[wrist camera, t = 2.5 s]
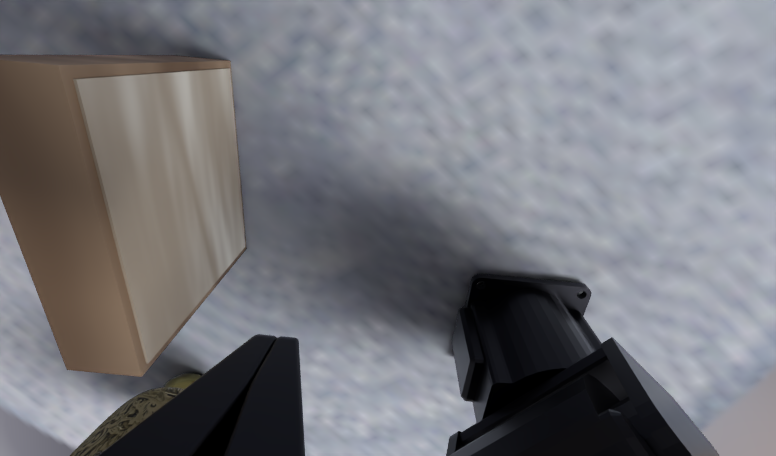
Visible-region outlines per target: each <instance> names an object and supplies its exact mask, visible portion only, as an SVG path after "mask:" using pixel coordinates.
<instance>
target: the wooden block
mask: <svg viewBox="0 0 776 456" xmlns="http://www.w3.org/2000/svg"><path fill="white" fill-rule="evenodd" d="M0 196H1V199H2V202H3V204H4V207H5V209H6V212H7V215H8V217H9V220H10V222H11V225H12V228H13V230H14V233H15V235H16V238H17V241H18V243H19V246H20V249H21V251H22V254H23V256H24V259H25V262H26V264H27V267H28V269H29V272H30V275H31V277H32V280H33V282H34V285H35V288H36V290H37V293H38V295H39V298H40V301H41V303H42V306H43V308H44V311H45V314H46V316H47V319H48V322H49V324H50V327H51V329H52V332H53V335H54V337H55V340H56V342H57V345H58V348H59V350H60V353H61V355H62V358H63V361H64V363H65V366H66V368H67V370H75V371H85V372H96V373H106V374H117V375H127V376H138V377H142V376H143V375H144V374H145V373H146V372H147V370H148V369H149V368H150V367H151V365H152V364H153V363H154V362H155V360H156V359H157V358H158V357H159V356H160V354H161V353H162V352H163V351H164V349H165V348H166V347H167V346H168V345H169V343H170V342H171V341H172V340H173V338H174V337H175V336H176V335H177V333H178V332H179V331H180V330H181V329H182V327H183V326H184V325H185V324H186V322H187V321H188V320H189V319H190V318H191V316H192V315H193V314H194V313H195V311H196V310H197V309H198V308H199V306H200V305H201V304H202V303H203V302H204V300H205V299H206V298H207V297H208V295H209V294H210V293H211V292H212V291H213V289H214V288H215V287H216V286H217V284H218V283H219V282H220V281H221V279H222V278H223V277H224V276H225V275H226V273H227V272H228V271H229V270H230V268H231V267H232V266H233V265H234V264H235V262H236V261H237V260H238V259H239V257H240V256H241V255H242V254H243V252H244V251H245V250H246V237H245V226H244V214H243V203H242V191H241V180H240V168H239V157H238V145H237V133H236V122H235V110H234V99H233V87H232V76H231V64H230V61H227V60H217V59H207V58H196V57H186V56H176V55H0Z"/></svg>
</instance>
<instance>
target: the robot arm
mask: <svg viewBox="0 0 776 456" xmlns="http://www.w3.org/2000/svg"><path fill="white" fill-rule="evenodd" d="M478 282H484V283H483V284H482V285H477V283H478ZM581 291H583V292H582V293H581V294H579V295H577V294H578V293H579V292H581ZM590 297H591V291H590V289H589V288H588V287H587V286H586V285H585V284H582V283H573V282H562V281H552V280H542V279H531V278H521V277H510V276H500V275H490V274H477V275H474V276H473V277H472V279H471V281H470V286H469V290H468V295H467V300H466V304H465V307H462V308H460V309H459V311H458V316H457V320H456V325H455V330H454V335H453V340H452V346H453V352H454V358H455V364H456V370H457V376H458V382H459V388H460V394H461V397H462V398H463V399H464V400H465V401H471V402H473V407H474V412H475V417H476V422H477V423H476V424H474V425H473V426H471V427H470V428H468V429H466V430H465V431H463V432H460V431H458V432H457V433H455V434H454V435H452V436H450V438H449V444H448V449H447V454H446V456H719V454H718V453H717V451H716V450H715V449H714V447H713V446H712V444H711V443H710V442H709V441H708V440H707V438H706V437H705V436H704V435H703V434H702V432H701V431H700V430H699V429H698V427H697V426H696V425H695V424H694V423H693V421H692V420H691V419H690V418H689V417H688V415H687V414H686V413H685V412H684V411H683V409H682V408H681V407H680V406H679V404H678V403H677V402H676V401H675V400H674V399H673V397H672V396H671V395H670V394H669V393H668V392H667V391H666V390H665V389H664V388H663V387H662V386H661V385H660V384H659V383H658V382H657V381H656V380H655V379H654V378H653V377H652V376H651V375H650V374H649V373H648V372H647V371H646V370H645V369H644V368H643V367H642V366H641V365H640V364H639V363H638V362H637V361H636V360H635V359H634V358H633V357H632V356H631V355H630V354H629V353H628V352H627V351H626V350H625V349H624V348H623V347H622V346H621V345H620V344H619V343H618V342H617V341H616V340H615V339H614V338H610V339H608V340H607V341H605V342H604V343H601V342H600V340H599V339H598V337H597V336H596V335H595V333H594V332H593V330H592V329H591V327H590V326H589V324H588V323H587V321H586V320H585V319H584V317H583V315H584V312H585V310H586V307H587V305H588V302H589V300H590ZM98 456H305V445H304V427H303V410H302V392H301V375H300V357H299V341H298V339H297V338H292V337H278V338H277V337H275V336H271V335H260V334H259V335H255V336H253V337H252V338H251V339H249V340H248V341H247V342H246V343H244V344H243V345H242V346H240V347H239V348H238V349H236V350H235V351H234V352H232V353H231V354H230V355H229V356H227V357H226V358H225V359H223V360H222V361H221V362H219V363H218V364H217V365H215V366H214V367H213V368H211V369H210V370H209V371H208V372H206V373H205V374H204V375H202V376H201V377H200V378H198V379H197V380H196V381H194V382H193V383H192V384H191V385H189V386H188V387H187V388H185V389H184V390H183V391H181V392H180V393H179V394H177V395H176V396H175V397H174V398H172V399H171V400H170V401H168V402H167V403H166V404H164V405H163V406H162V407H160V408H159V409H158V410H157V411H155V412H154V413H153V414H151V415H150V416H149V417H147V418H146V419H145V420H143V421H142V422H141V423H140V424H138V425H137V426H136V427H134V428H133V429H132V430H130V431H129V432H128V433H126V434H125V435H124V436H123V437H121V438H120V439H119V440H117V441H116V442H115V443H113V444H112V445H111V446H109V447H108V448H107V449H106V450H104V451H103V452H102V453H100V454H99V455H98Z"/></svg>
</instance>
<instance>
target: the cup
mask: <svg viewBox="0 0 776 456" xmlns="http://www.w3.org/2000/svg"><path fill="white" fill-rule="evenodd" d="M201 376H202V375H199V374H194V373H184V374H180V375H178V376H176V377H174V378H172V379H171V380H169V381H168V382H167V383H166V384H165V385H164V387H162V388H156V389H151V390H148V391H146V392H143V393H141V394H139V395H137V396H135V397H134V398H132V399H130V400H129V401H127V402H126V403H125V404H123V405H122V406H121V407H120V408H118V409H117V410H116V411H115V412H114V413H113V414H112V415H110V416H109V417H108V418H107V419H106V420H105V421H104V422H103V423H102V424H101V425H100V426H99V427H98V428H97V429H96V430H95V431H94V432H93V433H92V434H91V435H90V436H89V437H88V438H87V439H86V440H85V441H84V442H83V443H82V444H81V445H80V446H79V447H78V448H77V449H76V450H75V451H74V452H73V453H72V454H71V455H70V456H98V455H99V454H100V453H102V452H103V451H104V450H106V449H107V448H108V447H109V446H111V445H112V444H113V443H115V442H116V441H117V440H119V439H120V438H121V437H123V436H124V435H125V434H126V433H128V432H129V431H130V430H132V429H133V428H134V427H136V426H137V425H138V424H140V423H141V422H142V421H143V420H145V419H146V418H147V417H149V416H150V415H151V414H153V413H154V412H155V411H157V410H158V409H159V408H160V407H162V406H163V405H164V404H166V403H167V402H168V401H170V400H171V399H172V398H174V397H175V396H176V395H177V394H179V393H180V392H181V391H183V390H184V389H185V388H187V387H188V386H189V385H191V384H192V383H193V382H194V381H196V380H197V379H198V378H200V377H201Z"/></svg>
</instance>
